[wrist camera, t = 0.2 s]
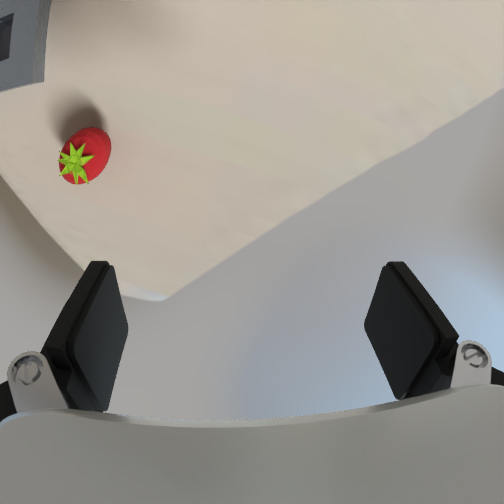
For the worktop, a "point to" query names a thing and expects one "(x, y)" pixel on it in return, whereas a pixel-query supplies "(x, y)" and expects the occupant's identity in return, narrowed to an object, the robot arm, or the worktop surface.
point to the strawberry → (84, 155)
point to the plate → (22, 42)
